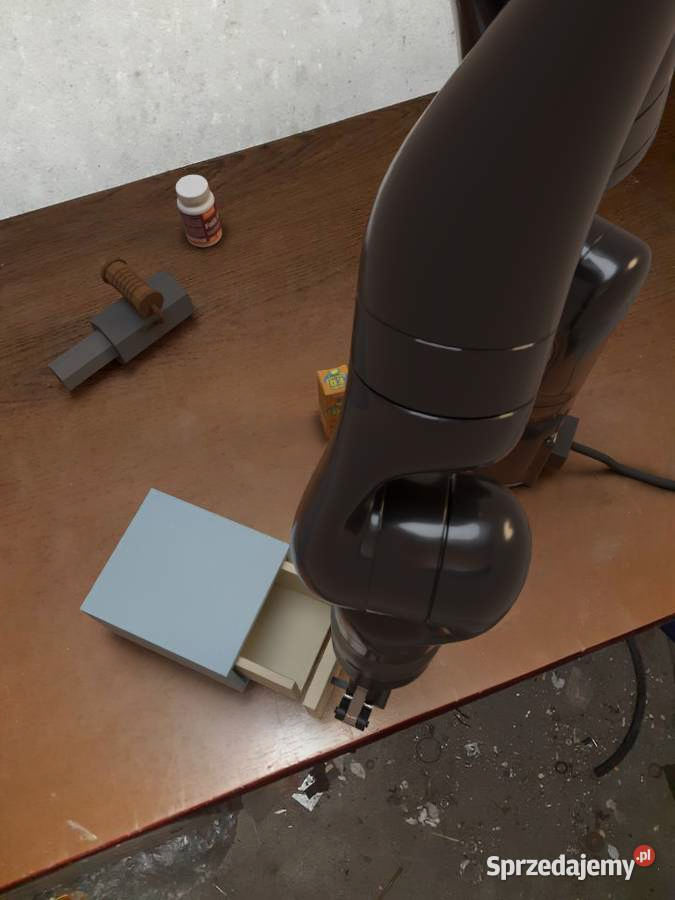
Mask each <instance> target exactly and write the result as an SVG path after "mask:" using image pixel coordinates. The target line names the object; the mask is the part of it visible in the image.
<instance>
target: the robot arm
mask: <svg viewBox="0 0 675 900" xmlns="http://www.w3.org/2000/svg"><path fill="white" fill-rule="evenodd" d="M449 4H450V10H451V16H452V22H453V28H454V34H455V42H456V52H457V61H458V66H457V67H456V68H455V70H454V71H453V72H452V74H451V75H450V76H449V78H448V79H447V80H446V81H445V82H444V84H443V85H442V87H440V89H439V90H438V92H437V93H436V94H435V96H434V97H433V99H432V100H431V101H430V103H429V104H428V106H427V107H426V108H425V110H424V111H423V113H422V114H421V115H420V117H419V118H418V119H417V121H416V122H415V124H414V125H413V126H412V128H411V129H410V131H409V132H408V134H407V135H406V137H405V139H404V140H403V142H401V143H402V144H401V145H400V146H399V148H398V150H397V152H396V153H395V155H394V156H393V159H392V161H391V163H390V164H389V166H388V168H387V171H386V173H385V174H384V176H383V178H382V181H381V183H380V185H379V187H378V190H377V192H376V195H375V198H374V200H373V203H372V205H371V209H370V211H369V216H368V219H367V222H366V224H365V225H366V226H365V229H364V231H363V232H364V233H363V238H362V243H361V249H360V250H361V251H360V254H359V255H360V256H359V262H358V272H357V282H356V289H355V290H356V291H355V299H354V310H353V319H352V328H351V338H350V339H351V340H350V348H349V360H348V365H347V367H348V374H347V380H346V386H345V392H344V396H343V400H342V404H341V407H340V411H339V415H338V418H337V421H336V424H335V427H334V430H333V432H332V435H331V437H330V438H328V442H327V444H326V446H325V448H324V451H323V453H322V455H321V457H320V459H319V461H318V463H317V465H316V467H315V469H314V470H313V473H312V475H311V477H310V478H309V481H308V483H307V485H306V486H305V488H304V490H303V493H302V496H301V498H300V500H299V503H298V505H297V509H296V510H295V515H294V517H293V521H292V525H291V530H290V531H291V532H290V540H289V544H290V550H291V557H292V562H293V565H294V568H295V570H296V573H297V575H298V576H299V578H300V580H301V582H302V583H303V584H304V586H305V587H306V588H307V589H308V590H309V592H311V593H312V594H313V595H314V596H315V597H317V598H318V599H320V600H322V601H324V602H326V603H329V604H331V614H330V619H331V626H330V635H331V636H330V638H332V646H333V650H334V653H335V656H336V658H337V660H338V662H339V664H340V665H341V667H342V668H341V669H342V671H344V672H345V674H346V675H347V676H348V677H349V681H348V688H347V689H346V690H344V693H343V694H342V698H341V699H340V701H339V703H338V705H336V706H335V708H334V710H333V713H334V715H333V719H336V720H338V721H340V722H342V723H344V724H346V725H348V726H350V727H352V728H354V729H356V730H358V731H360V732H365V729H367V728H368V727H369V725H370V717H371V714H372V712H373V710H374V708H375V706H374V705H375V702H376V700H377V697H378V696H380V695H381V692H382V690H392V691H393V690H396V689H400V688H403V687H406V686H408V685H410V684H411V683H413V682H415V681H416V680H417V679H418V678H420V677H421V676H422V675H423V673H424V672H425V671H426V670H427V669H428V667H429V665H430V664H431V663H432V662H433V660H434V658H435V657H436V655H437V653H438V652H439V650H440V649H441V648H442V645H448V644H454V643H461V642H465V641H470V640H472V639H475V638H477V637H479V636H481V635H483V634H485V633H487V632H489V631H490V630H492V629H493V628H494V627H496V626H497V625H498V624H499V623H500V622H501V621H502V620H503V619H504V618H505V617H506V616H507V615H508V613H509V612H510V610H511V609H512V608H513V606H514V605H515V604H516V602H517V600H518V599H519V597H520V595H521V593H522V591H523V589H524V587H525V585H526V581H527V579H528V576H529V573H530V569H531V563H532V558H533V546H534V545H533V544H534V543H533V532H532V528H531V524H530V520H529V517H528V514H527V512H526V510H525V508H524V506H523V504H522V503H521V501H520V499H519V498H518V496H516V495H515V494H514V493H513V491H512V490H511V488H515V487H519V486H521V485H523V486H527V487H530V488H531V487H534V485H535V483H536V481H537V479H538V478H539V475H540V474H541V472H542V470H543V468H544V467H545V466H546V467H549V468H551V469H554V470H557V471H561V469H562V467H563V466H564V464H565V462H566V461H567V459H568V457H569V453H570V451H572V452H575V453H577V454H580V455H582V456H584V457H588V458H591V459H593V460H595V461H598V462H600V463H602V464H604V465H605V466H607V467H609V469H611V470H613V471H615V472H617V473H619V474H622V475H624V476H627V477H629V478H633V479H635V480H638V481H641V482H644V483H647V484H651V485H654V486H657V487H660V488H665V489H669V490H674V491H675V480H674V479H669V478H664V477H661V476H657V475H654V474H651V473H647V472H644V471H642V470H639V469H636V468H633V467H630V466H628V465H626V464H622V463H621V462H618V461H617V460H615V459H614V458H613V457H611V456H610V455H608V454H606V453H604V452H602V451H600V450H598V449H595V448H592V447H591V446H587V445H585V444H583V443H579V442H577V441H574V438H575V435H576V431H577V429H578V426H579V422H580V418H578V417H576V416H573V415H570V414H569V412H570V410H571V408H572V407H573V405H574V404H575V401H576V400H577V397H578V395H579V394H580V392H581V390H582V388H583V386H584V385H585V383H586V381H587V379H588V378H589V375H590V374H591V372H592V371H593V368H594V367H595V365H596V364H597V361H598V360H599V359H600V356H601V355H602V353H603V352H604V349H605V347H606V346H607V344H608V343H609V340H611V337H612V336H613V334H614V332H615V331H616V329H617V327H619V325H620V323H621V322H622V321H623V319H624V317H625V316H626V315H627V313H628V311H629V310H630V308H631V307H632V306H633V304H634V303H635V301H636V299H637V298H638V296H639V295H640V293H641V291H642V288H643V287H644V285H645V283H646V280H647V278H648V276H649V274H650V270H651V266H652V262H653V254H652V250H651V247H650V245H649V244H648V243H647V242H646V241H644V240H643V239H642V238H641V237H638V236H637V235H635V234H634V233H631V232H630V231H628V230H627V229H624V228H623V227H622V226H619V225H618V224H616V223H614V222H612V221H610V220H609V219H607V218H605V216H602V215H600V214H598V213H597V211H598V209H599V206H600V204H601V201H602V199H603V196H604V195H605V193H607V192H609V191H610V190H611V189H612V188H615V186H617V185H618V184H619V183H621V182H623V180H624V179H625V178H627V177H628V175H629V174H630V173H632V171H633V170H634V169H636V167H637V166H638V165H639V164H640V163H641V162H642V160H643V159H644V157H645V156H646V154H647V152H648V150H649V149H650V147H651V145H652V143H653V142H654V139H655V138H656V135H657V133H658V130H659V127H660V124H661V121H662V118H663V114H664V110H665V108H666V107H665V106H666V103H667V99H668V95H669V92H670V87H671V83H672V79H673V77H674V72H675V0H449Z"/></svg>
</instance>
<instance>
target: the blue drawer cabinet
mask: <svg viewBox="0 0 675 900" xmlns="http://www.w3.org/2000/svg"><path fill="white" fill-rule="evenodd" d="M126 528H127V529H126V530H125V531H124V534H123V535H122V537H121V538H120V540H119V541H118V543H117V545H116V547H115V548H114V550H113V552H112V553H111V555H110V557H109V559H107V562H106V563H105V565H104V567H103V568H102V570H101V572H100V573H99V575H98V577H97V579H96V580H95V581H94V584H92V587H91V589H90V590H89V592H88V594H87V596H86V597H85V599H84V600H83V602H82V604H81V606H80V607H79V611H81V612H82V613H84V614H86V615H87V616H88V617H90V618H91V619H93V620H94V621H95V622H96V623H99V624H100V625H101V626H103V627H105V628H106V629H108V630H109V631H110V632H112V633H113V634H115V635H118V636H120V637H122V638H124V639H126V640H129V641H130V642H133V643H134V644H137V645H139V646H141V647H143V648H146V649H147V650H150V651H152V652H155V653H156V654H158V655H161V656H163V657H165V658H168V659H169V660H171V661H173V662H176V663H178V664H180V665H182V666H185V667H186V668H189V669H191V670H193V671H195V672H197V673H199V674H202V675H204V676H205V677H207V678H210V679H213V680H215V681H217V682H219V683H222V684H223V685H226V686H228V687H230V688H232V689H234V690H236V691H239V692H241V693H243V694H244V693H245V691H246V689H247V687H248V684H249V682H250V680H251V679H249V678H247V677H245V676H242V675H240V674H238V673H236V672H234V671H233V670H232V669H233V667H234V665H235V663H236V661H237V659H238V657H239V655H240V652H241V650H242V648H243V646H244V644H245V642H246V640H247V638H248V636H249V634H250V632H251V630H252V627H253V625H254V623H255V621H256V619H257V617H258V615H259V613H260V611H261V609H262V607H263V605H264V602H265V600H266V598H267V596H268V594H269V592H270V590H271V588H272V586H273V584H274V582H275V580H276V577H277V575H278V573H279V571H280V569H281V567H282V565H283V563H284V561H287V562H289V563H292V564H293V562H292V557H291V550H290V543H288V542H285V541H283V540H282V539H281V540H280V539H278V538H276V537H273V536H271V535H268V534H266V533H264V532H261V531H258V530H256V529H254V528H251V527H249V526H246V525H244V524H241V523H239V522H237V521H234V520H232V519H229V518H227V517H224V516H223V515H219V514H217V513H215V512H212V511H211V510H207V509H204V508H202V507H200V506H197V505H195V504H193V503H190V502H187V501H185V500H182V499H180V498H177V497H175V496H172V495H170V494H168V493H165V492H163V491H160V490H158V489H156V488H153V487H151V488H150V490H149V491H148V493H147V494H146V496H145V498H144V500H143V502H142V503H141V505H140V507H139V508H138V509H137V511H136V513H135V515H134V517H133V519H132V520H131V522H130V523H129V525H128V527H126Z"/></svg>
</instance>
